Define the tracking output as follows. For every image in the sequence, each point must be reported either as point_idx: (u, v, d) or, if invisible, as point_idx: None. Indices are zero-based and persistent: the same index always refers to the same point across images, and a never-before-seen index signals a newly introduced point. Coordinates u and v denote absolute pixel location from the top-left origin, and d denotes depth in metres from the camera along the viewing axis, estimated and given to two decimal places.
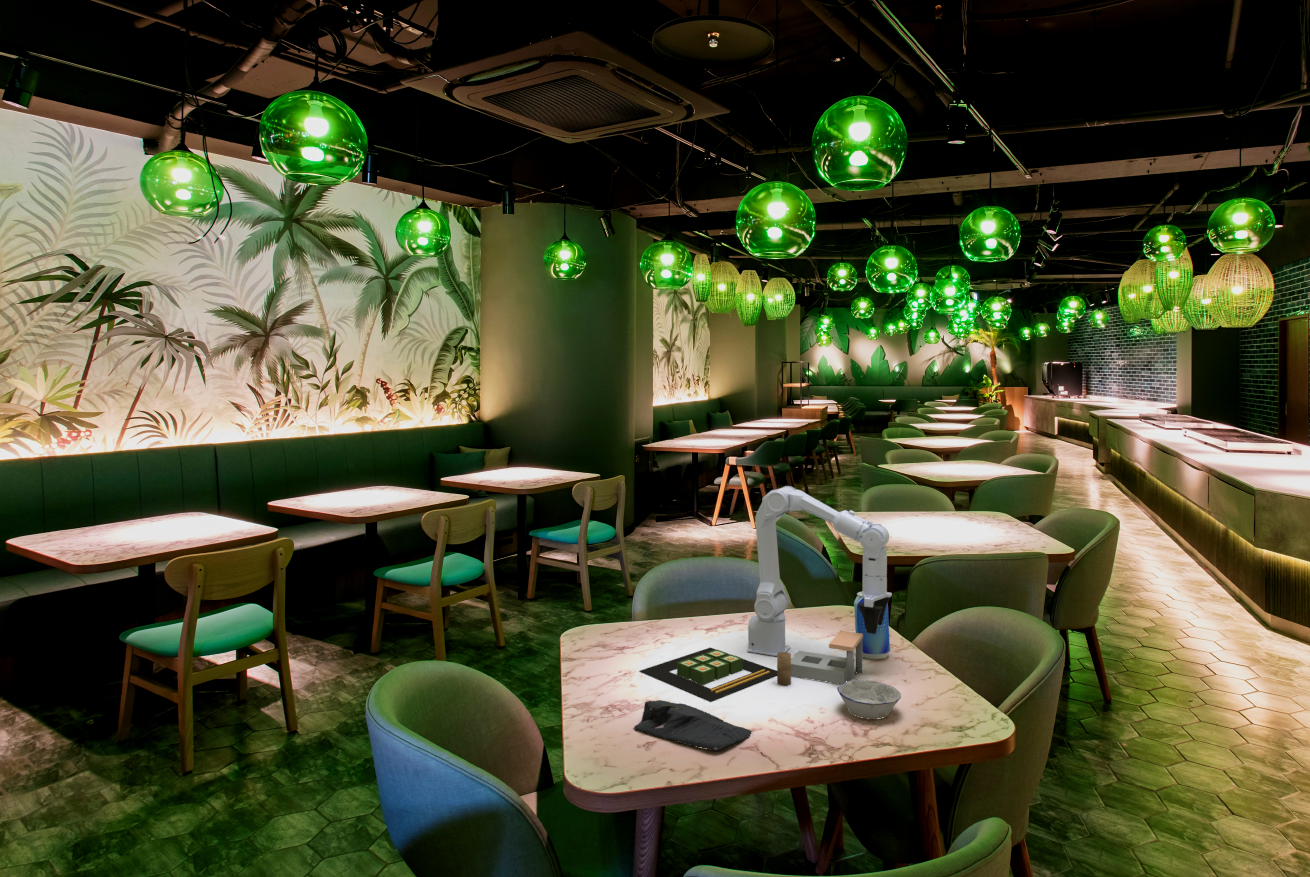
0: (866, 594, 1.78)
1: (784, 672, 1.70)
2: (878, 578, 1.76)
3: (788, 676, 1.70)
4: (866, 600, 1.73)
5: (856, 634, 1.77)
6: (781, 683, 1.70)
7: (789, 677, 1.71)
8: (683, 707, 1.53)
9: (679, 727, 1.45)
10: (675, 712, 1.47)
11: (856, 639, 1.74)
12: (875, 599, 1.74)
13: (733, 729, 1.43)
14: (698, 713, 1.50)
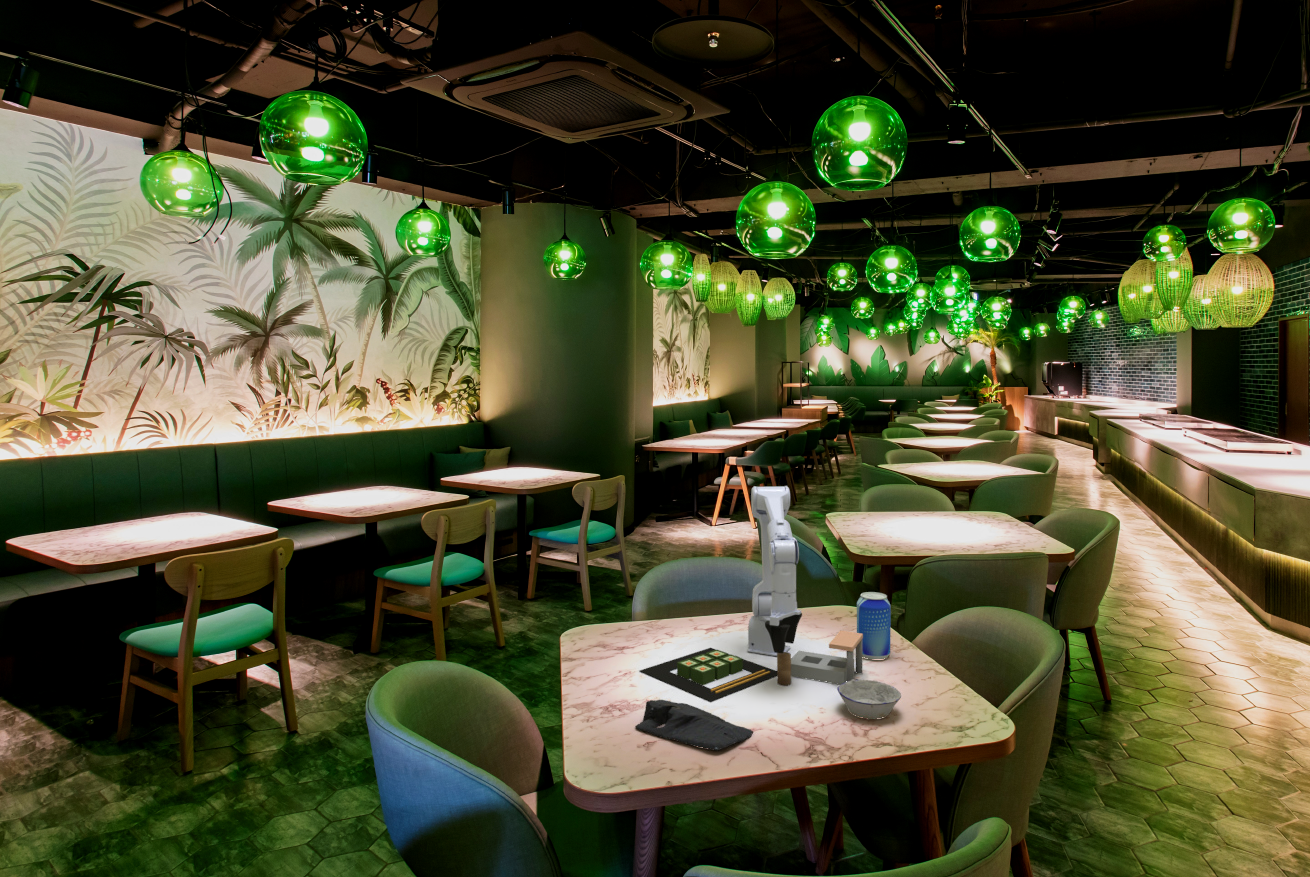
0: (774, 611, 1.69)
1: (784, 672, 1.70)
2: (786, 595, 1.68)
3: (788, 676, 1.70)
4: (771, 618, 1.65)
5: (856, 634, 1.77)
6: (781, 683, 1.70)
7: (789, 677, 1.71)
8: (684, 707, 1.53)
9: (681, 727, 1.45)
10: (676, 712, 1.47)
11: (856, 639, 1.74)
12: (781, 617, 1.66)
13: (734, 729, 1.42)
14: (699, 713, 1.50)
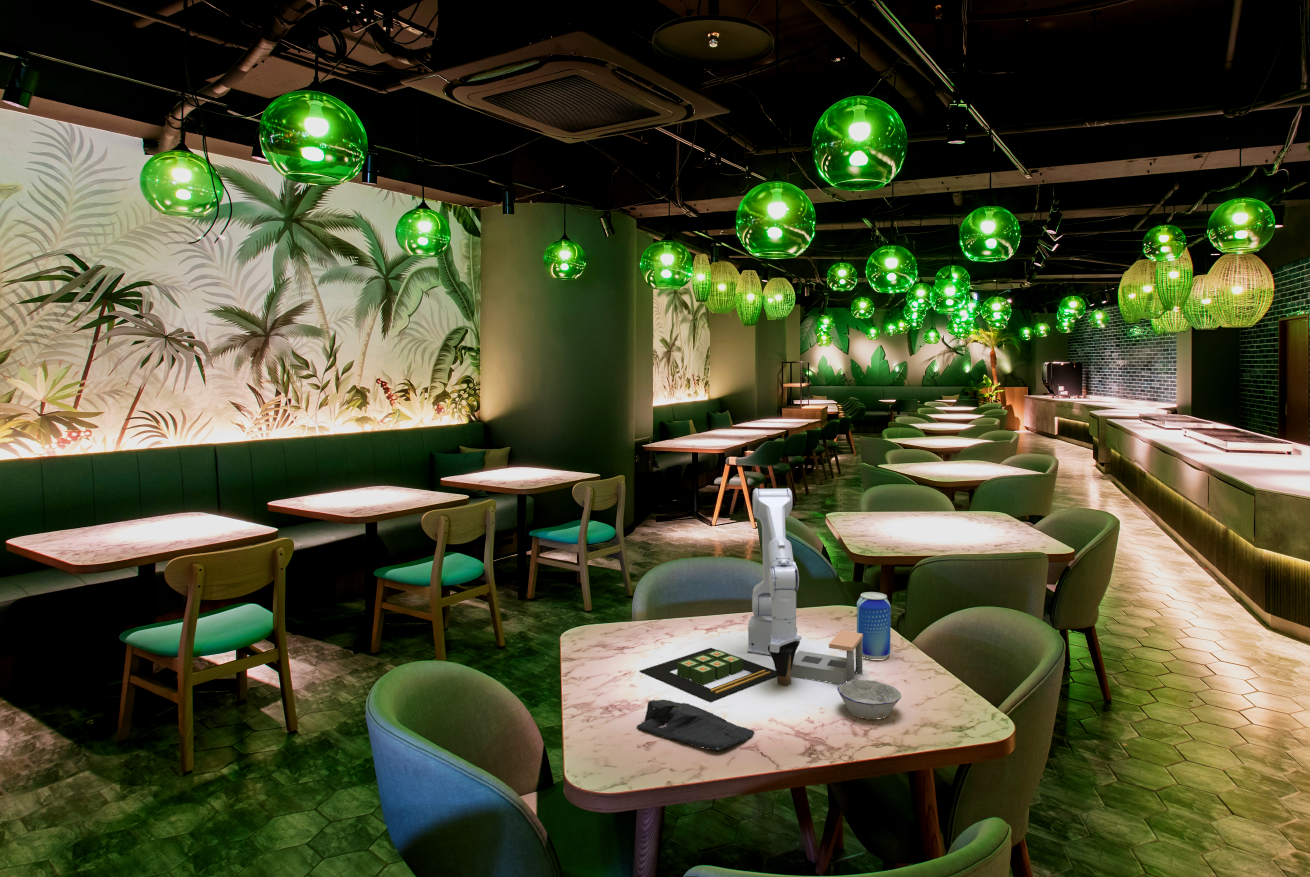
0: (774, 638, 1.69)
1: None
2: (786, 621, 1.68)
3: (788, 676, 1.70)
4: (771, 645, 1.65)
5: (856, 634, 1.77)
6: (781, 683, 1.70)
7: (789, 677, 1.71)
8: (686, 707, 1.53)
9: (682, 727, 1.45)
10: (678, 712, 1.47)
11: (856, 639, 1.74)
12: (781, 644, 1.66)
13: (735, 729, 1.42)
14: (701, 713, 1.50)
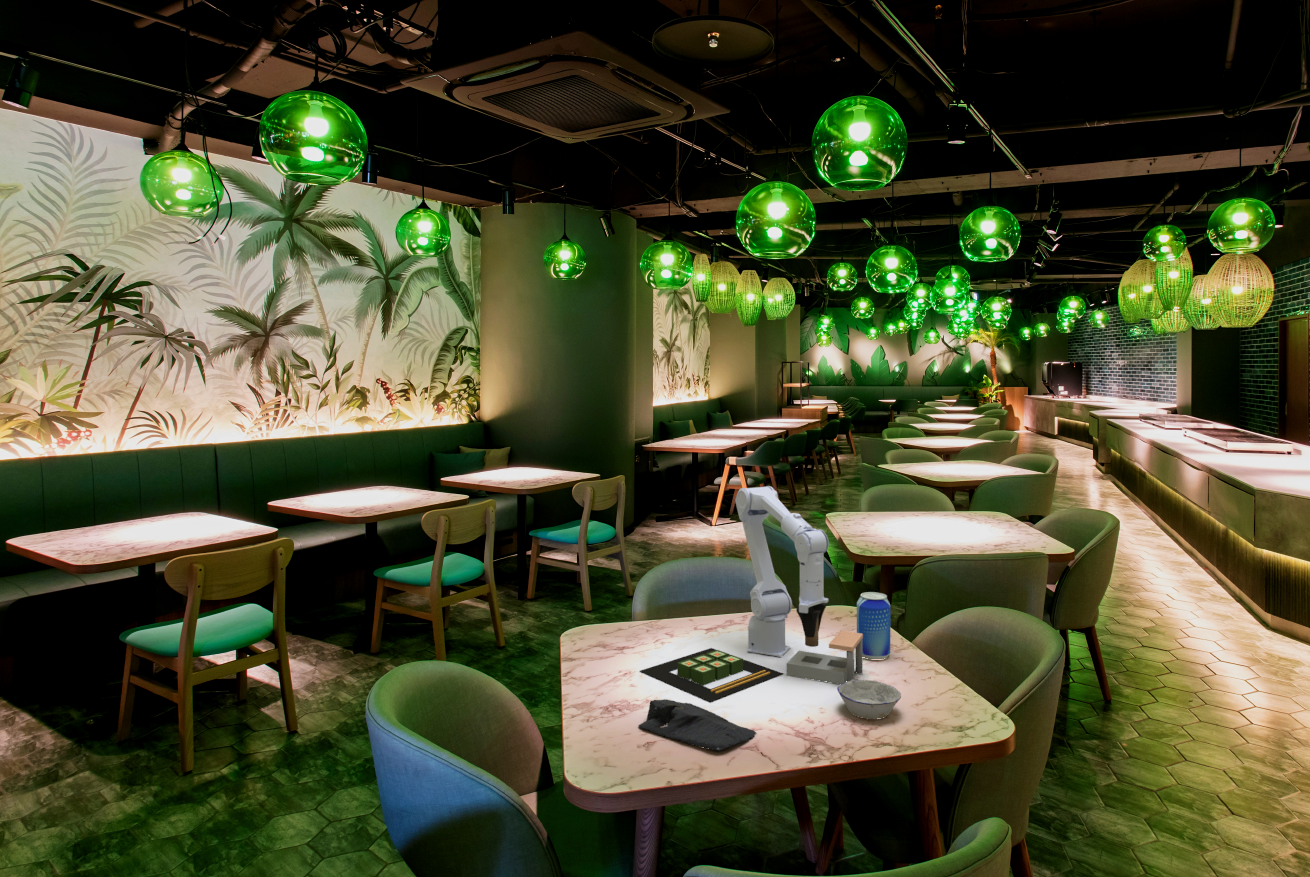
0: (802, 600, 1.76)
1: None
2: (814, 584, 1.75)
3: (816, 638, 1.77)
4: (801, 605, 1.72)
5: (856, 634, 1.77)
6: (809, 644, 1.77)
7: (817, 638, 1.77)
8: (688, 707, 1.53)
9: (683, 726, 1.45)
10: (679, 711, 1.47)
11: (856, 639, 1.74)
12: (810, 605, 1.73)
13: (736, 730, 1.42)
14: (703, 713, 1.50)
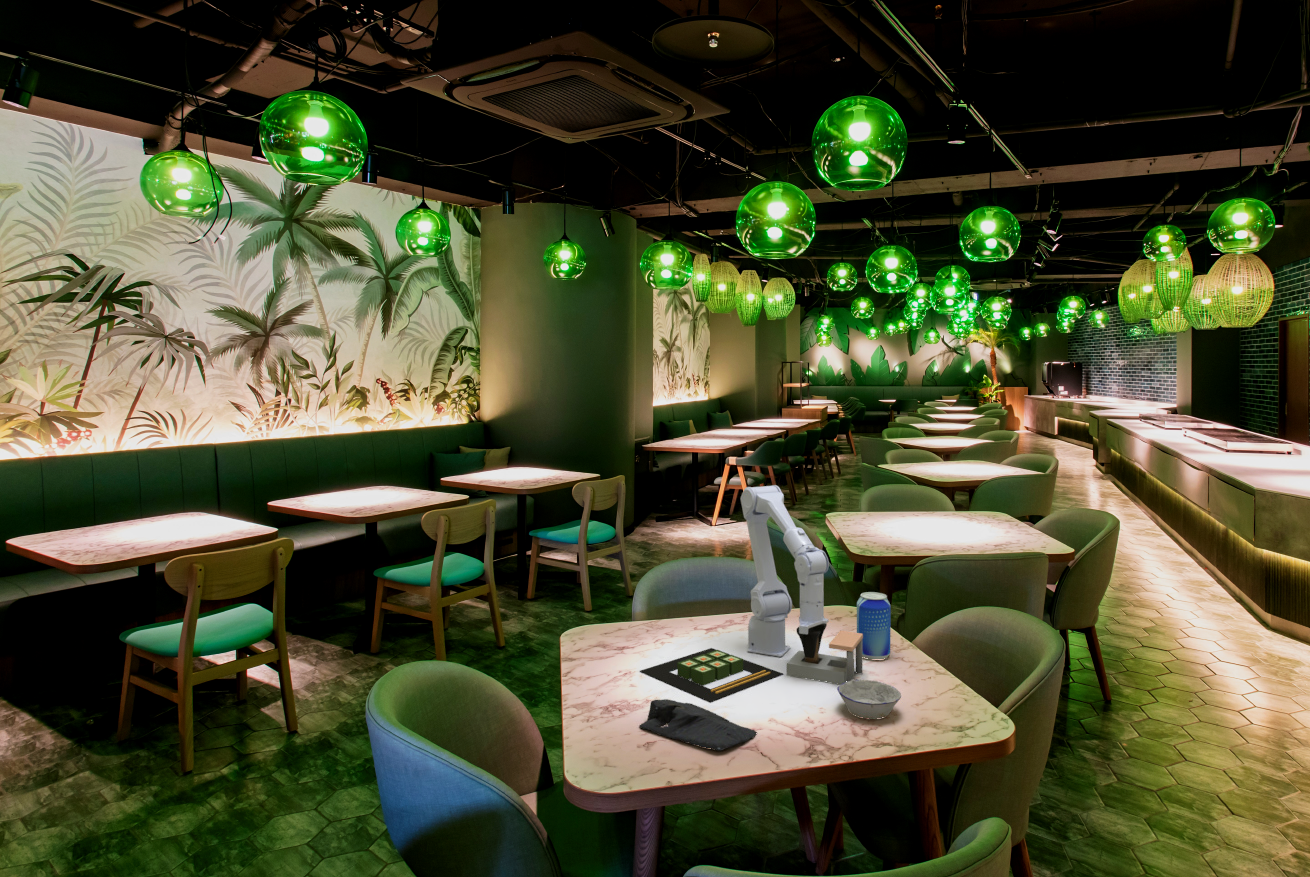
0: (802, 620, 1.76)
1: None
2: (814, 604, 1.75)
3: (816, 658, 1.77)
4: (801, 626, 1.72)
5: (856, 634, 1.77)
6: None
7: (817, 659, 1.78)
8: (689, 707, 1.54)
9: (684, 726, 1.45)
10: (680, 711, 1.48)
11: (856, 639, 1.74)
12: (810, 626, 1.73)
13: (737, 729, 1.42)
14: (704, 713, 1.50)
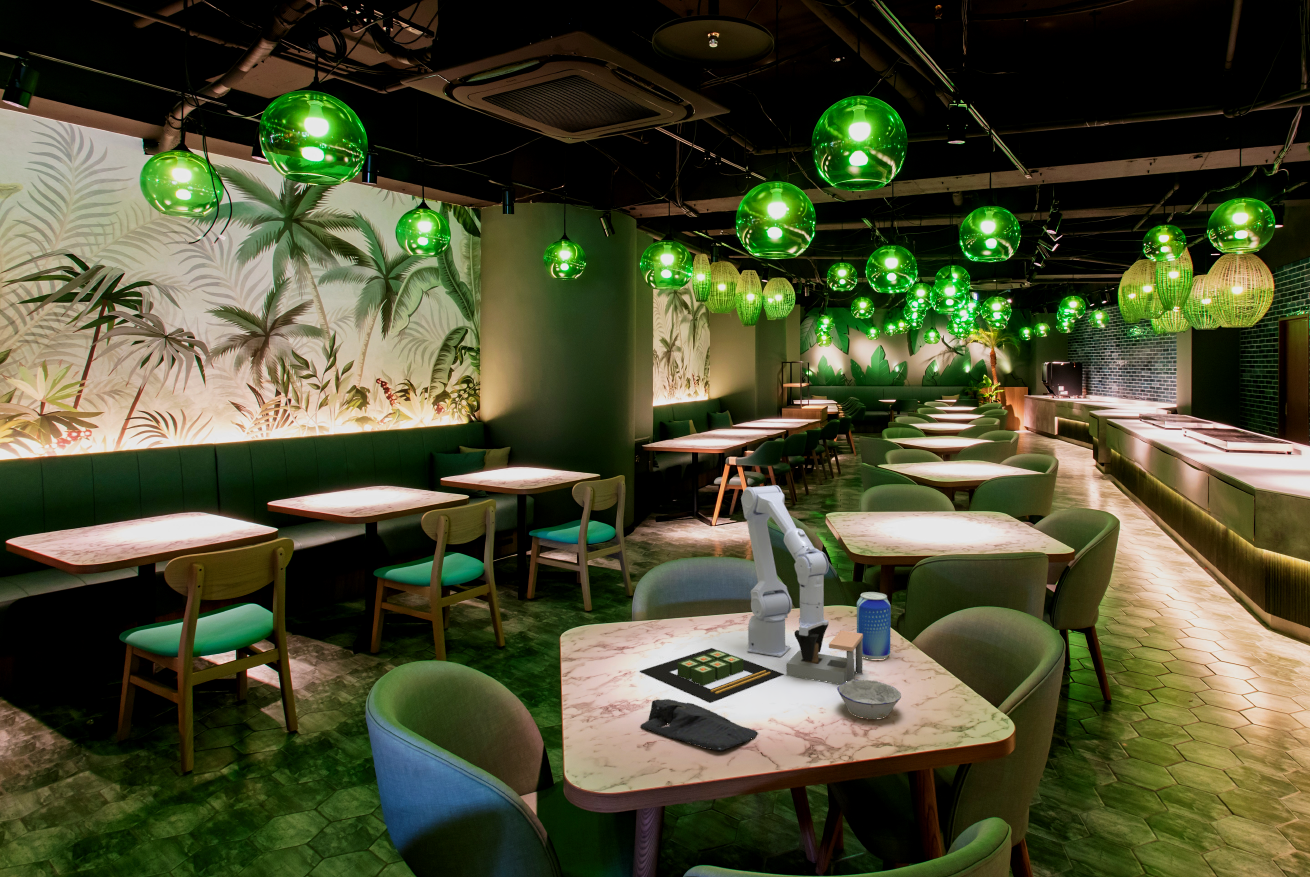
0: (802, 622, 1.76)
1: (812, 661, 1.77)
2: (814, 606, 1.75)
3: None
4: (801, 628, 1.72)
5: (856, 634, 1.77)
6: None
7: None
8: (690, 707, 1.54)
9: (685, 726, 1.45)
10: (681, 711, 1.48)
11: (856, 639, 1.74)
12: (810, 627, 1.73)
13: (738, 730, 1.42)
14: (705, 713, 1.50)
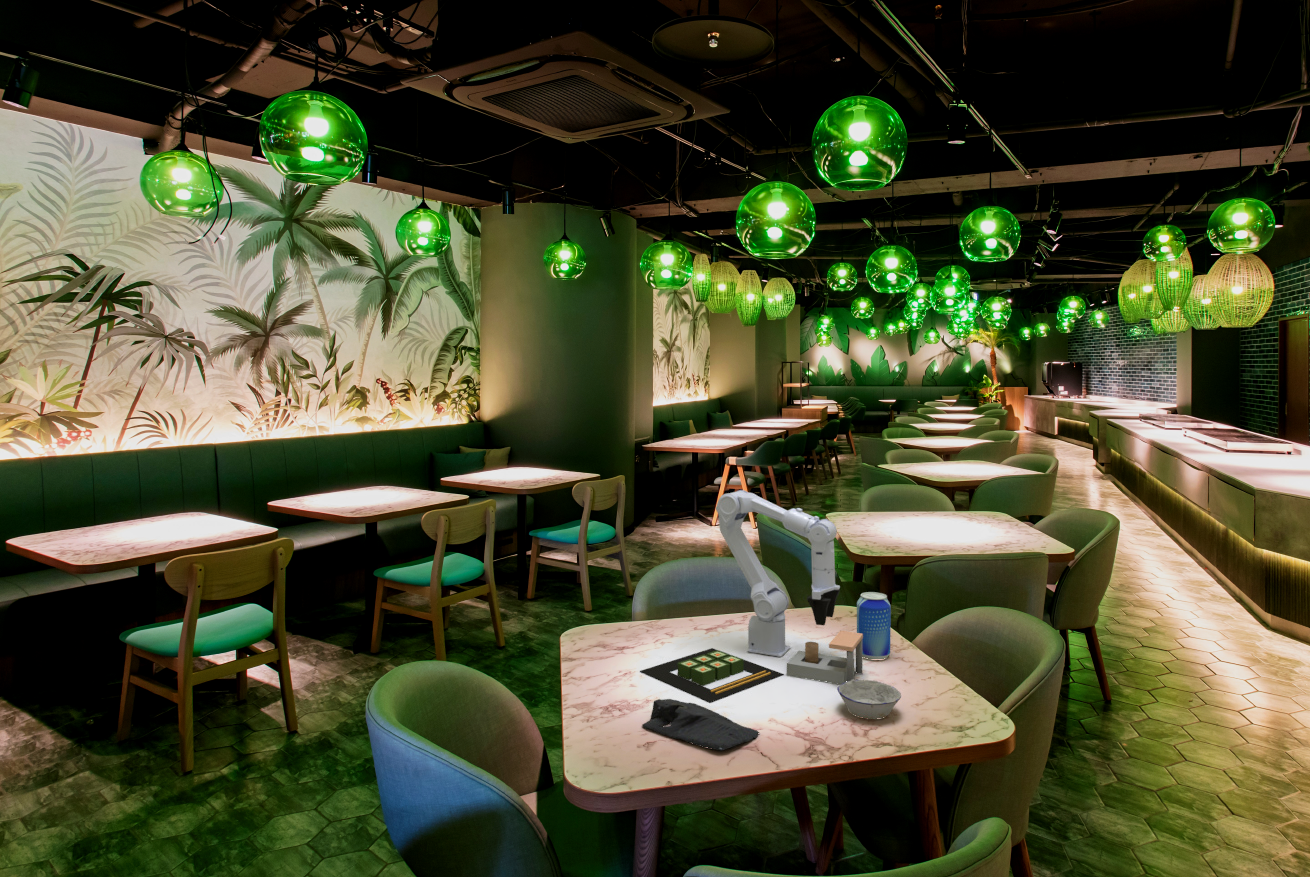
0: (815, 587, 1.84)
1: (812, 661, 1.77)
2: (826, 571, 1.82)
3: None
4: (813, 592, 1.79)
5: (856, 634, 1.77)
6: None
7: None
8: (692, 706, 1.54)
9: (686, 726, 1.45)
10: (683, 711, 1.48)
11: (856, 639, 1.74)
12: (822, 592, 1.80)
13: (739, 730, 1.42)
14: (706, 713, 1.50)
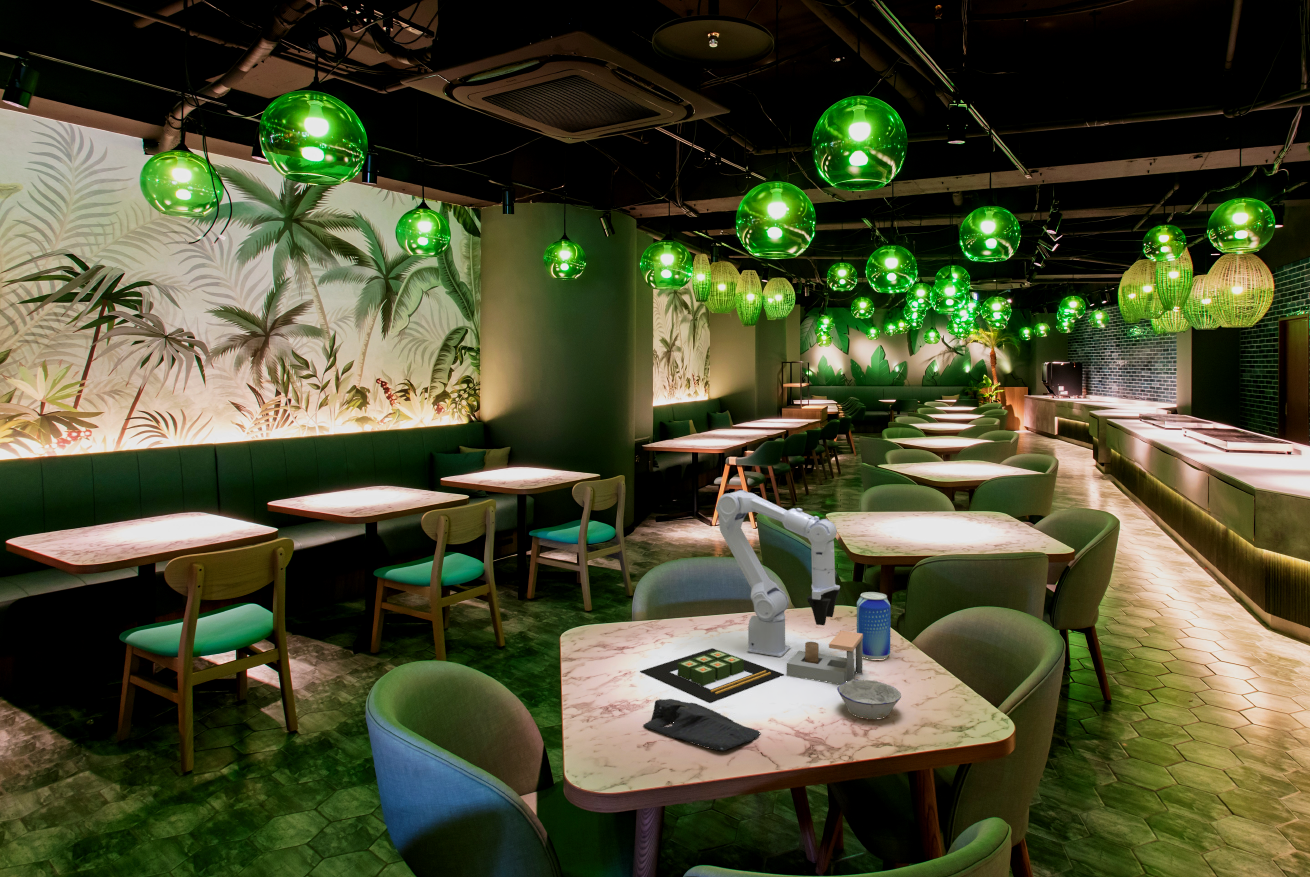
0: (815, 587, 1.84)
1: (812, 661, 1.77)
2: (826, 571, 1.82)
3: None
4: (813, 592, 1.79)
5: (856, 634, 1.77)
6: None
7: None
8: (693, 706, 1.54)
9: (688, 726, 1.45)
10: (684, 711, 1.48)
11: (856, 639, 1.74)
12: (822, 592, 1.80)
13: (741, 730, 1.42)
14: (708, 713, 1.50)
